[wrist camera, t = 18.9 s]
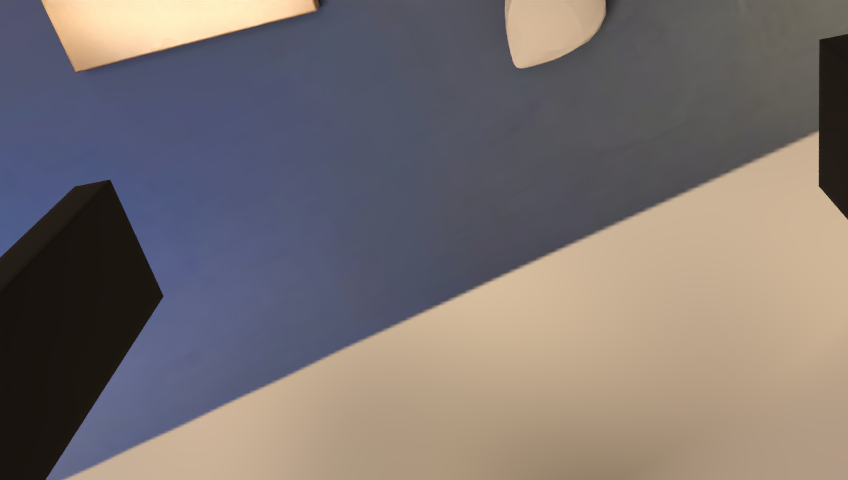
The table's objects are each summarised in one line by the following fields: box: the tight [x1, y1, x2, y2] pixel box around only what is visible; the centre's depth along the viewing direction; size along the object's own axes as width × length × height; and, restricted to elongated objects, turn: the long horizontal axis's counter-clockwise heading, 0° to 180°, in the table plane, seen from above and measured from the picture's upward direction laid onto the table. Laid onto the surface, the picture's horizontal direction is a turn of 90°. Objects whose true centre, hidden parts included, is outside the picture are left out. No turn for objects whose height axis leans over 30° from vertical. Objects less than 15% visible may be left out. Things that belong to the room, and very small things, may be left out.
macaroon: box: [505, 0, 606, 68], centre depth 34 cm, size 4×5×2 cm
